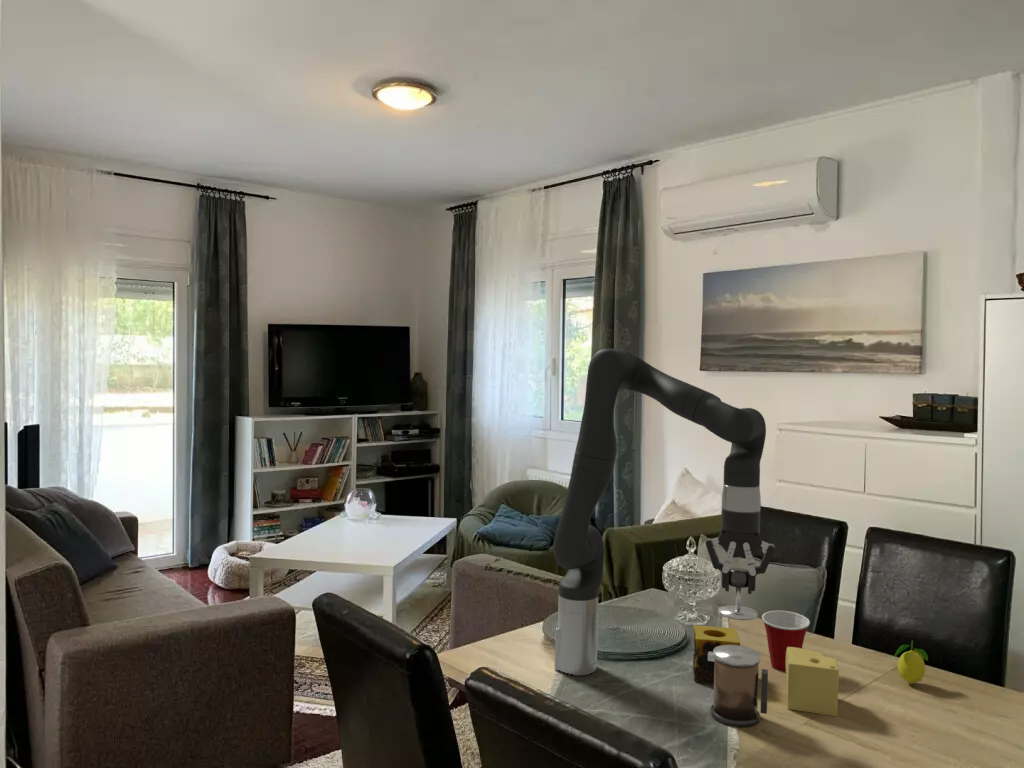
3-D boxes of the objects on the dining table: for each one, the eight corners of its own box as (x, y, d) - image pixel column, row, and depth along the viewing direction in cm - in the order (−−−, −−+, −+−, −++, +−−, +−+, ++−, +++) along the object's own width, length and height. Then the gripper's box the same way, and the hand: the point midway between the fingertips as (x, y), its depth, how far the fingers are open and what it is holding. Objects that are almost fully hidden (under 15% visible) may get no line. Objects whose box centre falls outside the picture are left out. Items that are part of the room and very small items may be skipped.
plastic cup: (757, 671, 183) (759, 620, 183) (762, 656, 193) (763, 607, 193) (807, 680, 179) (809, 628, 179) (809, 663, 189) (811, 614, 188)
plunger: (717, 617, 157) (718, 573, 156) (719, 606, 164) (720, 564, 164) (757, 622, 154) (758, 577, 154) (757, 610, 161) (758, 567, 161)
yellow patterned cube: (740, 687, 174) (741, 643, 174) (693, 683, 176) (694, 639, 176) (736, 670, 184) (738, 628, 184) (692, 666, 186) (693, 624, 186)
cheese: (835, 697, 170) (837, 652, 170) (839, 719, 160) (840, 670, 159) (784, 690, 173) (786, 645, 173) (784, 710, 163) (786, 662, 163)
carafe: (704, 722, 157) (706, 657, 156) (708, 702, 166) (709, 641, 166) (766, 731, 153) (768, 665, 153) (766, 711, 162) (768, 648, 162)
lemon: (893, 685, 177) (894, 641, 176) (894, 676, 182) (895, 634, 182) (927, 692, 174) (928, 647, 173) (927, 682, 179) (928, 639, 178)
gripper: (703, 507, 157) (701, 593, 158) (778, 513, 153) (775, 601, 153) (706, 501, 164) (703, 583, 165) (777, 506, 160) (775, 590, 160)
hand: (738, 591), depth 159 cm, fingers closed on plunger, 3 cm apart
